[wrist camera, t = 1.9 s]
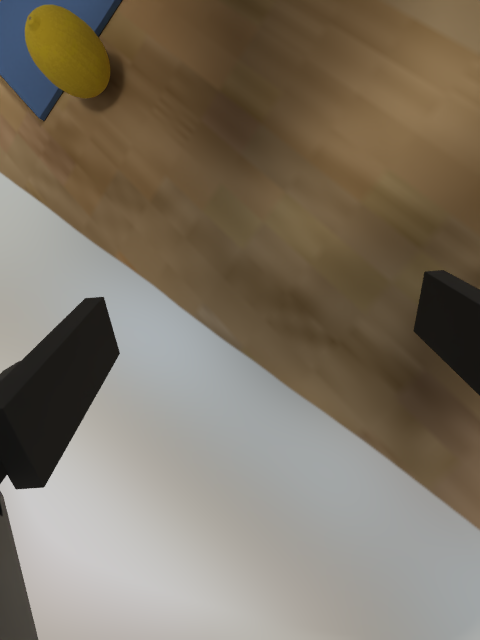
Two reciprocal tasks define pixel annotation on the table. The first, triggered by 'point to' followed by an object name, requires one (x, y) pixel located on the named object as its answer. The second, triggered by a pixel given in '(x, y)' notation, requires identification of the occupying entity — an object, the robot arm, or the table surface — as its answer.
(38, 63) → the lemon
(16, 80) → the blue mat
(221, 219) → the table surface
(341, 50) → the table surface
